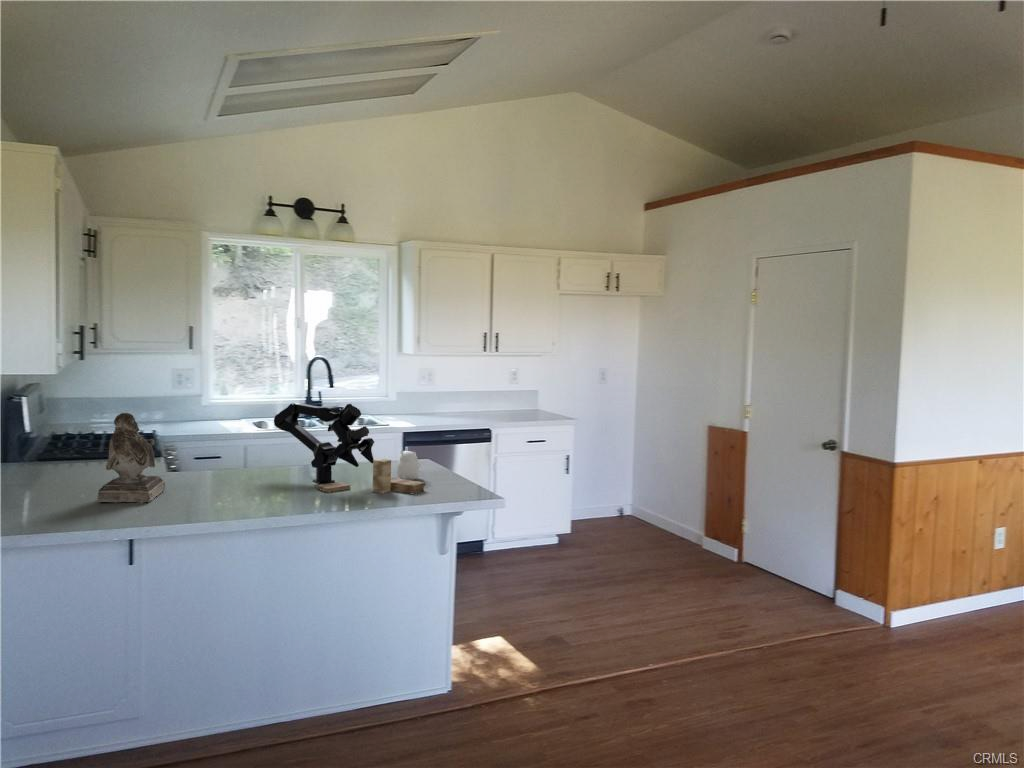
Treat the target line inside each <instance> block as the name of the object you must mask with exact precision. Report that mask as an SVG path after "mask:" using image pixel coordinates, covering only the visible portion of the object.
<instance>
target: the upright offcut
mask: <svg viewBox="0 0 1024 768" xmlns="http://www.w3.org/2000/svg"><path fill="white" fill-rule="evenodd" d="M391 477H392V460H391V459H387V458H386V459H385V458H376V459H374V460H373V463H372V492H373V491H374V492H375V493H379V492H381V493H380V494H386V493H389V492H392V491H391ZM388 491H389V492H388ZM385 492H386V493H385Z"/></svg>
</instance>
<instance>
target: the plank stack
mask: <svg viewBox="0 0 1024 768" xmlns="http://www.w3.org/2000/svg"><path fill="white" fill-rule="evenodd" d="M425 488H426V482H423V481H416V480H405V479H401V478H399V477H398V478H397V477H392V476H391V490H392V491H391V492H396V491H399V492H398V493H403V492H406V493H405V494H409V493H415V494H417V493H416V492H418V493H420V492H419V491H421V492H423V491H422V490H424V489H425Z"/></svg>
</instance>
